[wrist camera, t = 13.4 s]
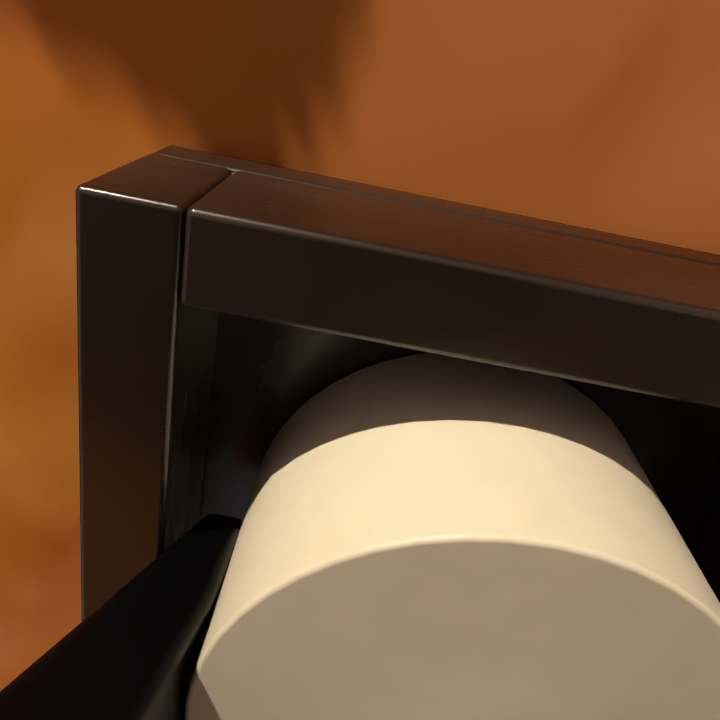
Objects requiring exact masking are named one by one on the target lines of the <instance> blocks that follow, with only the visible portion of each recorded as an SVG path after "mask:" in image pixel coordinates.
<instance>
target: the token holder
mask: <svg viewBox="0 0 720 720" xmlns="http://www.w3.org/2000/svg"><path fill="white" fill-rule="evenodd" d="M76 243H77V313H78V384H79V454H80V524H81V595H82V621H84V620H85V619H86V618H87V617H88V616H89V615H91V614H92V613H93V612H94V611H95V610H97V609H98V608H99V607H100V606H101V605H102V604H104V603H105V602H106V601H107V600H108V599H109V598H111V597H112V596H113V595H114V594H115V593H116V592H118V591H119V590H120V589H121V588H122V587H123V586H125V585H126V584H127V583H128V582H129V581H130V580H132V579H133V578H134V577H135V576H136V575H137V574H139V573H140V572H141V571H142V570H143V569H145V568H146V567H147V566H148V565H149V564H150V563H152V562H153V561H154V560H155V559H156V558H157V557H159V556H160V555H161V554H162V553H163V552H164V551H166V550H167V549H168V548H169V547H170V546H171V545H173V544H174V543H175V542H176V541H177V540H178V539H180V538H181V537H182V536H183V535H184V534H185V533H187V532H188V531H189V530H190V529H191V528H192V527H194V526H195V525H196V524H197V523H198V522H200V521H201V520H202V519H203V518H204V517H205V516H207V515H209V514H220V515H225V516H231V517H237V518H240V519H241V520H243V517H244V514H245V511H246V508H247V505H248V502H249V499H250V496H251V493H252V490H253V487H254V484H255V481H256V478H257V474H258V471H259V469H260V466H261V464H262V461H263V459H264V456H265V454H266V452H267V450H268V448H269V446H270V445H271V443H272V441H273V440H274V438H275V436H276V435H277V433H278V432H279V430H280V429H281V428H282V427H283V426H284V424H285V423H286V422H287V421H288V420H289V418H290V417H291V416H292V415H293V414H294V413H295V412H296V411H297V410H298V409H299V408H300V407H301V406H303V405H304V404H305V403H306V402H307V401H308V400H309V399H310V398H311V397H313V396H314V395H316V394H317V393H319V392H320V391H322V390H323V389H325V388H326V387H328V386H329V385H331V384H332V383H334V382H336V381H338V380H340V379H342V378H344V377H346V376H348V375H350V374H352V373H354V372H356V371H358V370H361V369H363V368H366V367H369V366H372V365H375V364H378V363H380V362H383V361H387V360H392V359H396V358H401V357H405V356H410V355H418V354H427V353H434V354H439V355H444V356H449V357H455V358H460V359H465V360H470V361H475V362H481V363H486V364H491V365H496V366H502V367H507V368H512V369H517V370H522V371H528V372H533V373H538V374H543V375H549V376H554V377H557V378H559V379H561V380H563V381H564V382H566V383H568V384H570V385H572V386H573V387H575V388H576V389H577V390H579V391H580V392H581V393H583V394H584V395H585V396H587V397H588V398H589V399H591V400H592V401H593V402H595V403H596V404H597V405H598V407H599V408H600V409H601V410H602V411H603V412H604V413H605V414H606V415H607V416H608V417H609V418H610V419H611V420H612V421H613V423H614V424H615V425H616V427H617V428H618V430H619V431H620V432H621V434H622V435H623V437H624V438H625V440H626V441H627V443H628V445H629V447H630V448H631V450H632V452H633V453H634V455H635V457H636V459H637V460H638V462H639V464H640V466H641V467H642V469H643V471H644V473H645V474H646V476H647V478H648V479H649V481H650V483H651V485H652V486H653V488H654V490H655V492H656V493H657V495H658V497H659V499H660V500H661V502H662V504H663V505H664V507H665V509H666V511H667V512H668V514H669V516H670V518H671V519H672V521H673V523H674V525H675V526H676V528H677V530H678V531H679V533H680V535H681V537H682V538H683V540H684V542H685V544H686V545H687V547H688V549H689V551H690V552H691V554H692V556H693V557H694V559H695V561H696V563H697V564H698V566H699V568H700V570H701V571H702V573H703V575H704V577H705V578H706V580H707V582H708V583H709V585H710V587H711V589H712V590H713V592H714V594H715V596H716V597H717V599H718V601H719V603H720V255H716V254H711V253H706V252H701V251H696V250H691V249H686V248H681V247H676V246H671V245H666V244H661V243H656V242H651V241H646V240H641V239H636V238H631V237H626V236H621V235H616V234H611V233H606V232H601V231H596V230H591V229H586V228H581V227H576V226H571V225H566V224H561V223H556V222H551V221H546V220H541V219H536V218H531V217H526V216H521V215H516V214H511V213H506V212H501V211H496V210H491V209H486V208H481V207H477V206H472V205H467V204H462V203H457V202H452V201H447V200H442V199H437V198H432V197H427V196H422V195H417V194H412V193H407V192H402V191H397V190H392V189H387V188H382V187H377V186H372V185H367V184H362V183H357V182H352V181H347V180H342V179H337V178H332V177H327V176H322V175H317V174H312V173H307V172H302V171H297V170H292V169H287V168H282V167H277V166H272V165H267V164H262V163H257V162H252V161H247V160H242V159H237V158H232V157H227V156H222V155H217V154H212V153H207V152H202V151H197V150H192V149H188V148H183V147H178V146H173V145H172V146H168V147H166V148H163V149H161V150H159V151H157V152H154V153H153V154H149V155H147V156H144V157H142V158H140V159H137V160H135V161H133V162H131V163H128V164H126V165H124V166H122V167H119V168H117V169H115V170H112V171H110V172H108V173H106V174H103V175H101V176H99V177H97V178H94V179H92V180H90V181H87V182H85V183H83V184H81V185H78V187H77V190H76Z"/></svg>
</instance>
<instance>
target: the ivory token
mask: <svg viewBox="0 0 720 720" xmlns="http://www.w3.org/2000/svg"><path fill="white" fill-rule="evenodd" d="M185 720H720V603H719V601H718V599H717V597H716V596H715V594H714V592H713V590H712V589H711V587H710V585H709V583H708V582H707V580H706V578H705V577H704V575H703V573H702V571H701V570H700V568H699V566H698V564H697V563H696V561H695V559H694V557H693V556H692V554H691V552H690V551H689V549H688V547H687V545H686V544H685V542H684V540H683V538H682V537H681V535H680V533H679V531H678V530H677V528H676V526H675V525H674V523H673V521H672V519H671V518H670V516H669V514H668V512H667V511H666V509H665V507H664V505H663V504H662V502H661V500H660V499H659V497H658V495H657V493H656V492H655V490H654V488H653V486H652V485H651V483H650V481H649V479H648V478H647V476H646V474H645V473H644V471H643V469H642V467H641V466H640V464H639V462H638V460H637V459H636V457H635V455H634V453H633V452H632V450H631V448H630V447H629V445H628V443H627V441H626V440H625V438H624V437H623V435H622V434H621V432H620V431H619V430H618V428H617V427H616V425H615V424H614V423H613V421H612V420H611V419H610V418H609V417H608V416H607V415H606V414H605V413H604V412H603V411H602V410H601V409H600V408H599V407H598V405H597V404H596V403H595V402H593V401H592V400H591V399H589V398H588V397H587V396H585V395H584V394H583V393H581V392H580V391H579V390H577V389H576V388H575V387H573V386H572V385H570V384H568V383H566V382H564V381H563V380H561V379H559V378H557V377H554V376H549V375H543V374H538V373H533V372H528V371H522V370H517V369H512V368H507V367H502V366H496V365H491V364H486V363H481V362H475V361H470V360H465V359H460V358H455V357H449V356H444V355H439V354H434V353H427V354H418V355H410V356H405V357H401V358H396V359H392V360H387V361H383V362H380V363H378V364H375V365H372V366H369V367H366V368H363V369H361V370H358V371H356V372H354V373H352V374H350V375H348V376H346V377H344V378H342V379H340V380H338V381H336V382H334V383H332V384H331V385H329V386H328V387H326V388H325V389H323V390H322V391H320V392H319V393H317V394H316V395H314V396H313V397H311V398H310V399H309V400H308V401H307V402H306V403H305V404H304V405H303V406H301V407H300V408H299V409H298V410H297V411H296V412H295V413H294V414H293V415H292V416H291V417H290V418H289V420H288V421H287V422H286V423H285V424H284V426H283V427H282V428H281V429H280V430H279V432H278V433H277V435H276V436H275V438H274V440H273V441H272V443H271V445H270V446H269V448H268V450H267V452H266V454H265V456H264V459H263V461H262V464H261V466H260V469H259V471H258V474H257V478H256V481H255V484H254V487H253V490H252V493H251V496H250V499H249V502H248V505H247V508H246V511H245V514H244V517H243V520H242V525H241V528H240V531H239V534H238V538H237V541H236V544H235V547H234V550H233V553H232V556H231V559H230V562H229V565H228V568H227V571H226V575H225V578H224V581H223V584H222V587H221V590H220V593H219V596H218V599H217V602H216V605H215V608H214V611H213V614H212V617H211V620H210V622H209V625H208V628H207V631H206V634H205V637H204V639H203V642H202V645H201V648H200V651H199V655H198V658H197V661H196V664H195V667H194V670H193V673H192V676H191V679H190V683H189V688H188V693H187V698H186V703H185Z"/></svg>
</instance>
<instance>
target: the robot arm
mask: <svg viewBox="0 0 720 720" xmlns="http://www.w3.org/2000/svg"><path fill="white" fill-rule="evenodd" d="M241 525H242V520H241V519H240V518H237V517H231V516H225V515H220V514H209V515H207V516H205V517H204V518H203V519H202V520H201V521H200V522H198V523H197V524H196V525H195V526H194V527H192V528H191V529H190V530H189V531H188V532H187V533H185V534H184V535H183V536H182V537H181V538H180V539H178V540H177V541H176V542H175V543H174V544H173V545H171V546H170V547H169V548H168V549H167V550H166V551H164V552H163V553H162V554H161V555H160V556H159V557H157V558H156V559H155V560H154V561H153V562H152V563H150V564H149V565H148V566H147V567H146V568H145V569H143V570H142V571H141V572H140V573H139V574H137V575H136V576H135V577H134V578H133V579H132V580H130V581H129V582H128V583H127V584H126V585H125V586H123V587H122V588H121V589H120V590H119V591H118V592H116V593H115V594H114V595H113V596H112V597H111V598H109V599H108V600H107V601H106V602H105V603H104V604H102V605H101V606H100V607H99V608H98V609H97V610H95V611H94V612H93V613H92V614H91V615H89V616H88V617H87V618H86V619H85V620H84V621H82V622H81V623H80V624H79V625H78V626H77V627H75V628H74V629H73V630H72V631H71V632H70V633H68V634H67V635H66V636H65V637H64V638H63V639H61V640H60V641H59V642H58V643H57V644H56V645H54V646H53V647H52V648H51V649H50V650H49V651H47V652H46V653H45V654H44V655H43V656H41V657H40V658H39V659H38V660H37V661H36V662H34V663H33V664H32V665H31V666H30V667H29V668H27V669H26V670H25V671H24V672H23V673H22V674H20V675H19V676H18V677H17V678H16V679H15V680H13V681H12V682H11V683H10V684H9V685H8V686H6V687H5V688H4V689H3V690H2V691H0V720H185V703H186V698H187V693H188V688H189V683H190V679H191V676H192V673H193V670H194V667H195V664H196V661H197V658H198V655H199V651H200V648H201V645H202V642H203V639H204V637H205V634H206V631H207V628H208V625H209V622H210V620H211V617H212V614H213V611H214V608H215V605H216V602H217V599H218V596H219V593H220V590H221V587H222V584H223V581H224V578H225V575H226V571H227V568H228V565H229V562H230V559H231V556H232V553H233V550H234V547H235V544H236V541H237V538H238V534H239V531H240V528H241Z"/></svg>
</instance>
